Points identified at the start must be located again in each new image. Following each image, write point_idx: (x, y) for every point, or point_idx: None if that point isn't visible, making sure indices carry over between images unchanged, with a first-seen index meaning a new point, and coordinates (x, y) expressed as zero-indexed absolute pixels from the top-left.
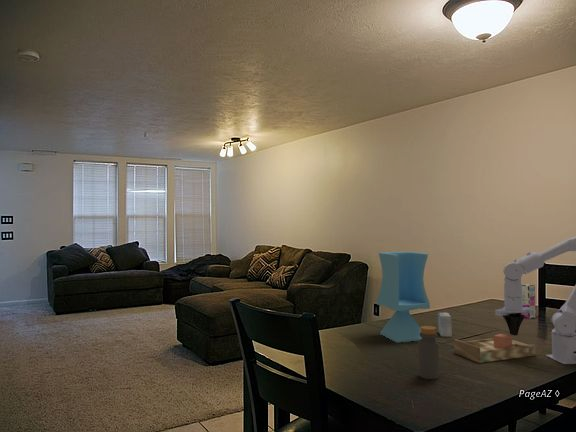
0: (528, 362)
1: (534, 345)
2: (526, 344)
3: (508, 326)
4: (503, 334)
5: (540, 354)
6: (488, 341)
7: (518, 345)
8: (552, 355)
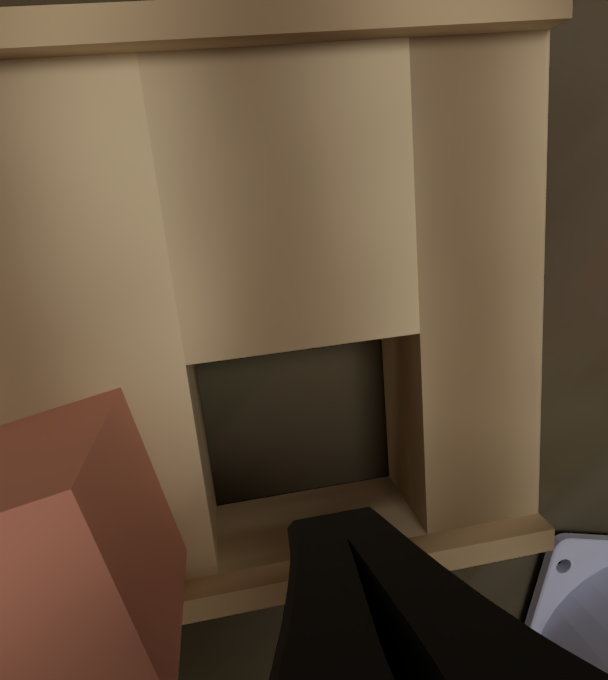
0: (224, 672)
1: (539, 547)
2: (528, 414)
3: (279, 666)
4: (81, 561)
5: (560, 454)
6: (43, 74)
7: (417, 387)
8: (563, 620)
